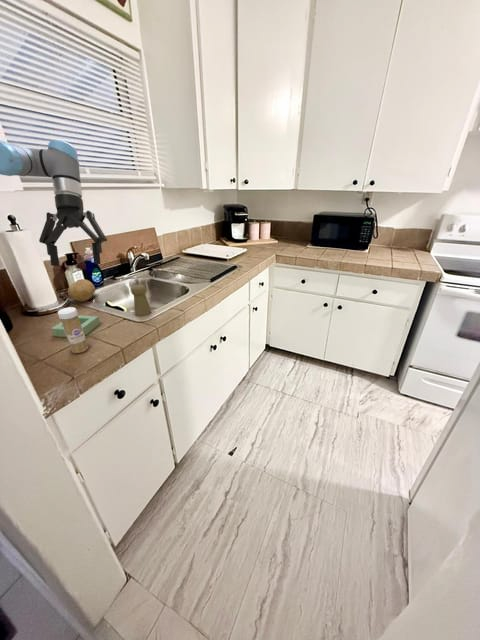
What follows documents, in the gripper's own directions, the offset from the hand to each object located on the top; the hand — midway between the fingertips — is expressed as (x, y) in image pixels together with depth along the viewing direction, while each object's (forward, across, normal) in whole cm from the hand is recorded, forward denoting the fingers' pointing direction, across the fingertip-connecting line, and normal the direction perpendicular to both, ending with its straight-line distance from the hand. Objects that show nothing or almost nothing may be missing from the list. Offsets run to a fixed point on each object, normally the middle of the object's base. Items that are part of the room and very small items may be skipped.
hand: (76, 264), depth 85 cm
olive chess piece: (+18, -15, -16) cm, 28 cm away
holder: (+22, +4, -3) cm, 22 cm away
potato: (+12, +14, -28) cm, 33 cm away
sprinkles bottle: (+27, -3, +8) cm, 28 cm away
